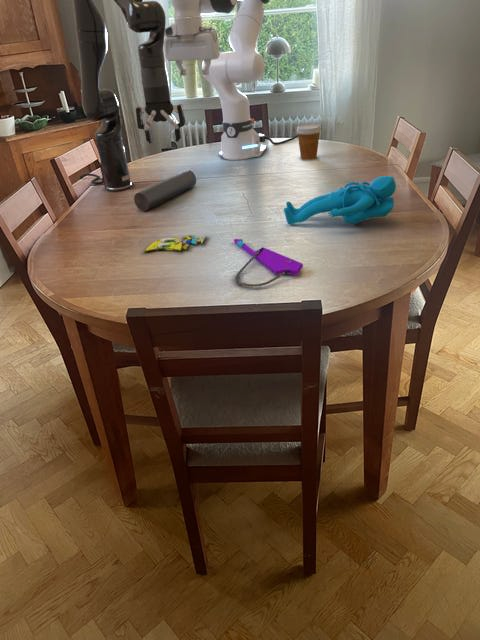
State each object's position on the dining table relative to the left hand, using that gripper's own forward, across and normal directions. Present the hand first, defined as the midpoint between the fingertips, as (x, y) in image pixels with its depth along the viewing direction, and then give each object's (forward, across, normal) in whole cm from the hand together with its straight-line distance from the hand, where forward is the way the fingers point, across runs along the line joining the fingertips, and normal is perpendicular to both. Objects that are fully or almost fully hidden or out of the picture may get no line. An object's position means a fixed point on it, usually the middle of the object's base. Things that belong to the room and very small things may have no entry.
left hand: (164, 142), depth 148 cm
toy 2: (+19, -51, +22) cm, 59 cm away
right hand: (-15, -7, -30) cm, 34 cm away
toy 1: (+20, -7, +33) cm, 39 cm away
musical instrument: (+19, -29, +48) cm, 59 cm away
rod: (+20, +3, -7) cm, 21 cm away
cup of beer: (+20, -47, -47) cm, 69 cm away
